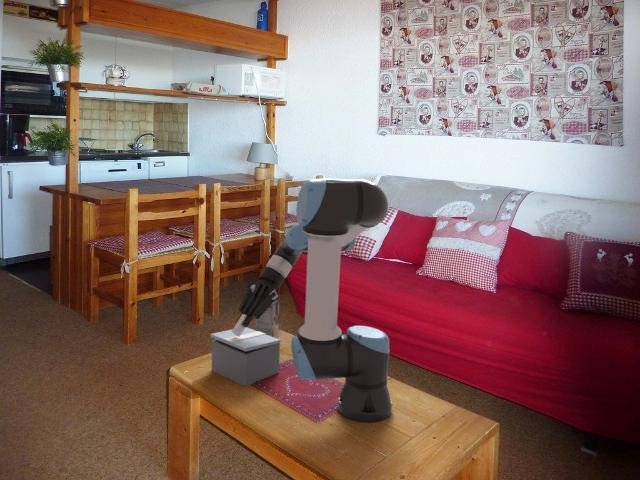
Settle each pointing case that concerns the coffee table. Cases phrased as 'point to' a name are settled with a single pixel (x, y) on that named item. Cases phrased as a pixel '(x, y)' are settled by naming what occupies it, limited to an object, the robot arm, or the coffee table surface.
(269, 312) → the coffee box
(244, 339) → the lid
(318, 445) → the coffee table surface
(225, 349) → the block
